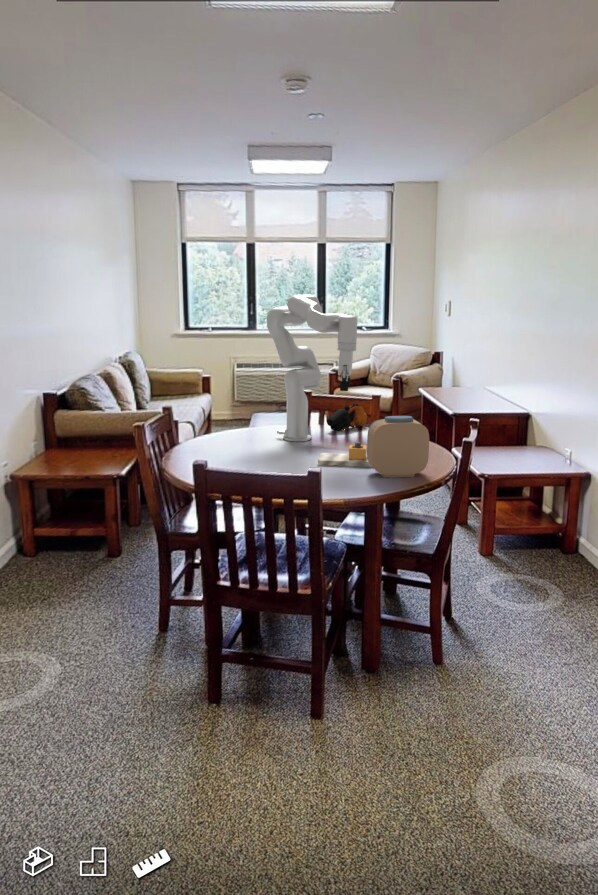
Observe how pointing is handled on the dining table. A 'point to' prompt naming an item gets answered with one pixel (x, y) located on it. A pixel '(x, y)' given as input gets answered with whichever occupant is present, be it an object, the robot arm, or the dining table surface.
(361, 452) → the orange square frame
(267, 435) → the dining table surface
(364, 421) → the tool
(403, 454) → the alarm clock
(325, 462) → the peg board
